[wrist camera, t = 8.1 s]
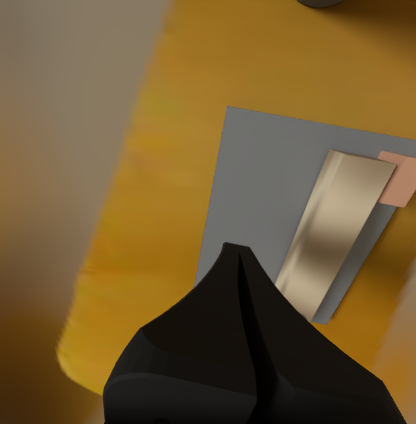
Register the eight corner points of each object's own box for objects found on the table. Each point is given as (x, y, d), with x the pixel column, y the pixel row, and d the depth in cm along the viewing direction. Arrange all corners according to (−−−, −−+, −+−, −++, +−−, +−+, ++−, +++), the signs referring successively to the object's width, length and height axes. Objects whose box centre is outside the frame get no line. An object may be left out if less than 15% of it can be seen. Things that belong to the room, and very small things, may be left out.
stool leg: (294, 316, 21) (301, 338, 19) (265, 309, 22) (268, 331, 19) (372, 157, 15) (396, 164, 13) (329, 148, 15) (345, 154, 13)
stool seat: (322, 314, 23) (326, 324, 22) (194, 287, 23) (192, 296, 22) (420, 141, 15) (434, 143, 14) (227, 106, 16) (227, 106, 15)
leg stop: (381, 195, 16) (404, 207, 14) (361, 191, 16) (380, 203, 14) (403, 154, 15) (432, 161, 12) (381, 150, 15) (406, 156, 12)
